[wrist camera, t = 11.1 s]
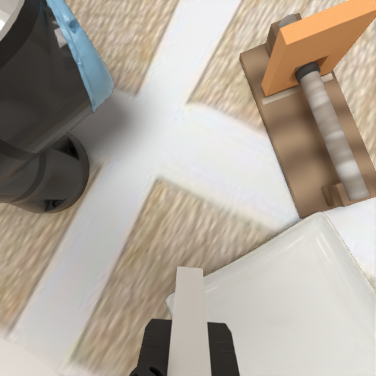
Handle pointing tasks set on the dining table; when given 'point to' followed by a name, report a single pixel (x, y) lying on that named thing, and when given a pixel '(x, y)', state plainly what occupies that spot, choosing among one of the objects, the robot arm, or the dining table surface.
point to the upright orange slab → (316, 42)
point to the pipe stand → (311, 133)
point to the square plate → (296, 305)
